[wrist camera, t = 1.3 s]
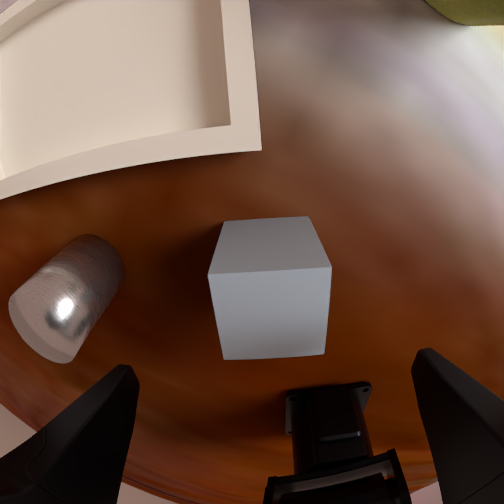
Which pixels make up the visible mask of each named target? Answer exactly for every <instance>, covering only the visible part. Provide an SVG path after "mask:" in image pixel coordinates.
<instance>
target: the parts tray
mask: <svg viewBox="0 0 504 504" xmlns="http://www.w3.org/2000/svg"><path fill="white" fill-rule="evenodd" d="M257 150H262V148H261V134H260V121H259V109H258V97H257V85H256V73H255V61H254V50H253V39H252V29H251V19H250V8H249V0H18V1H17V2H16V3H14V4H13V5H12V6H10V7H9V8H8V9H6V10H5V11H4V12H2V13H1V14H0V199H3V198H6V197H9V196H12V195H15V194H19V193H22V192H25V191H28V190H32V189H35V188H39V187H42V186H46V185H49V184H53V183H57V182H61V181H65V180H69V179H73V178H77V177H81V176H85V175H90V174H94V173H99V172H104V171H108V170H113V169H118V168H124V167H129V166H134V165H140V164H146V163H152V162H158V161H165V160H172V159H179V158H186V157H194V156H203V155H212V154H221V153H232V152H244V151H257Z"/></svg>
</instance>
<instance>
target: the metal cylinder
mask: <svg viewBox="0 0 504 504" xmlns="http://www.w3.org/2000/svg"><path fill="white" fill-rule="evenodd" d="M123 281H124V267H123V263H122V260H121V258H120V256H119V254H118V253H117V251H116V250H115V249H114V248H113V246H112V245H111V244H109V243H108V242H107V241H106V240H104V239H102V238H101V237H98V236H96V235H91V234H85V235H81V236H78V237H77V238H75V239H74V240H73V241H72V242H71V243H69V244H68V245H67V246H66V247H64V248H63V249H62V250H61V251H60V252H59V253H57V254H56V255H55V256H54V257H53V258H51V259H50V260H49V261H48V262H47V263H46V264H45V265H44V266H42V267H41V268H40V269H39V270H38V271H37V272H36V273H35V274H34V275H32V276H31V277H30V278H29V279H28V280H27V281H26V282H25V283H24V284H23V285H22V286H21V287H20V288H19V289H18V290H17V291H16V292H15V293H13V294H12V296H11V297H10V299H9V304H8V307H9V314H10V317H11V320H12V322H13V324H14V326H15V328H16V330H17V331H18V333H19V334H20V336H21V337H22V338H23V339H24V341H25V342H26V343H27V344H28V345H29V346H30V347H31V348H32V349H33V350H35V351H36V352H37V353H38V354H40V355H41V356H43V357H45V358H46V359H48V360H51V361H53V362H57V363H69V362H71V361H72V360H73V359H74V357H75V355H76V354H77V352H78V350H79V349H80V347H81V346H82V344H83V342H84V341H85V339H86V338H87V336H88V335H89V333H90V331H91V330H92V328H93V327H94V325H95V324H96V322H97V321H98V319H99V318H100V316H101V315H102V313H103V312H104V310H105V309H106V307H107V306H108V304H109V303H110V301H111V300H112V299H113V297H114V296H115V294H116V293H117V291H118V290H119V289H120V287H121V286H122V284H123Z"/></svg>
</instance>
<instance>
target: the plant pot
mask: <svg viewBox="0 0 504 504" xmlns="http://www.w3.org/2000/svg"><path fill="white" fill-rule="evenodd" d="M425 1H426V2H427V3H428V4H429V5H430V6H432V7H433V8H434V9H435V10H436V11H438V12H439V13H440V14H442V15H443V16H445V17H447V18H448V19H450V20H452V21H454V22H457V23H461V24H465V25H470V26H487V25H504V0H425Z"/></svg>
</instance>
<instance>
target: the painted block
mask: <svg viewBox="0 0 504 504" xmlns="http://www.w3.org/2000/svg"><path fill="white" fill-rule="evenodd" d="M331 271H332V266H331V264H330V262H329V260H328V257H327V255H326V253H325V251H324V249H323V246H322V244H321V242H320V240H319V238H318V236H317V233H316V231H315V229H314V227H313V225H312V223H311V221H310V219H309V217H308V216H304V217H285V218H267V219H252V220H237V221H224V224H223V227H222V230H221V233H220V236H219V239H218V243H217V246H216V249H215V252H214V255H213V259H212V262H211V265H210V268H209V272H208V279H209V285H210V290H211V296H212V301H213V307H214V312H215V317H216V322H217V327H218V333H219V337H220V342H221V347H222V352H223V357H224V360H234V359H264V358H282V357H296V356H309V355H319V354H324V350H325V341H326V332H327V322H328V311H329V299H330V286H331Z"/></svg>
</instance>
